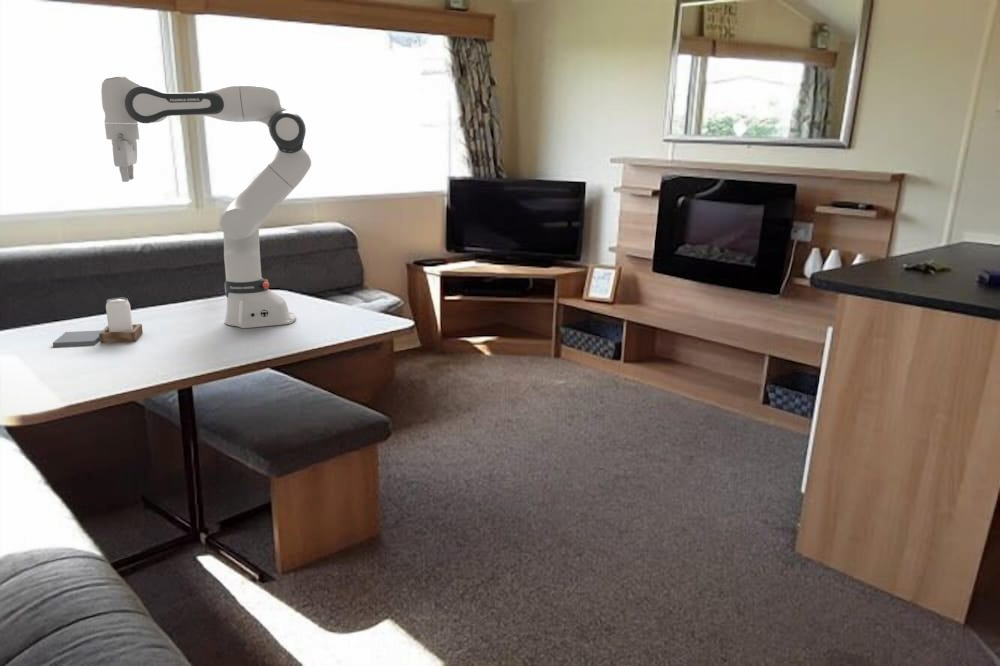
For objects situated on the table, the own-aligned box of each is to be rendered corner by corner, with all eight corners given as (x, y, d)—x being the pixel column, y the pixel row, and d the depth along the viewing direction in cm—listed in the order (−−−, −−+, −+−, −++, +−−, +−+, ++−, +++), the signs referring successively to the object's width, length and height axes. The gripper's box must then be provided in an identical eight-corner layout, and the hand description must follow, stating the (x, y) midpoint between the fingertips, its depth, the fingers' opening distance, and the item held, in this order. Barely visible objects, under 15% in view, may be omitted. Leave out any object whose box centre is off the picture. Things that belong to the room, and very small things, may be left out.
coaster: (105, 333, 227) (105, 330, 227) (94, 344, 216) (94, 340, 215) (66, 335, 224) (65, 332, 224) (53, 346, 213) (52, 342, 213)
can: (138, 335, 225) (133, 297, 222) (126, 341, 219) (121, 302, 216) (118, 335, 226) (113, 296, 223) (105, 340, 220) (100, 301, 217)
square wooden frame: (142, 333, 228) (141, 323, 227) (135, 341, 219) (134, 332, 218) (109, 334, 226) (107, 325, 225) (100, 343, 217) (99, 333, 216)
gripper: (129, 134, 211) (134, 183, 215) (138, 133, 230) (143, 178, 234) (104, 133, 209) (110, 183, 213) (116, 133, 228) (121, 178, 232)
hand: (128, 180), depth 223 cm, fingers open, 8 cm apart
